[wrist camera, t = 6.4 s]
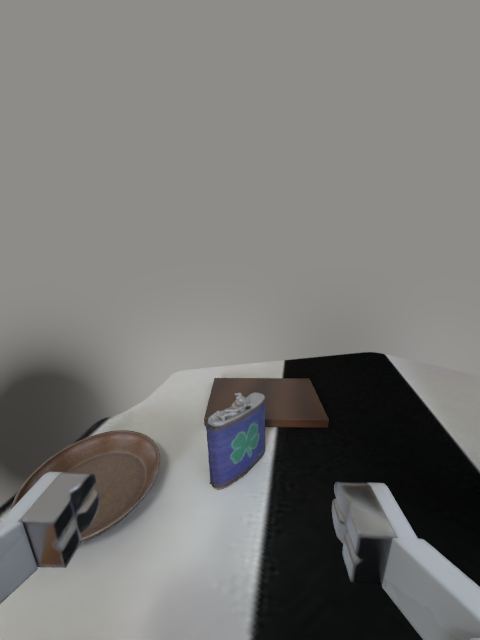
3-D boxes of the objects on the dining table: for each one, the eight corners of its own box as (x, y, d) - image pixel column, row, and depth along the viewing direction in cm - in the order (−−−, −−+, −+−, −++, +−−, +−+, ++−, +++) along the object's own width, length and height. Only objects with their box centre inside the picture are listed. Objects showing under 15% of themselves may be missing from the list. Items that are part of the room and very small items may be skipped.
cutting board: (309, 384, 52) (309, 378, 52) (328, 427, 40) (329, 419, 39) (214, 384, 53) (214, 378, 53) (204, 426, 40) (204, 418, 40)
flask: (256, 441, 37) (256, 377, 34) (271, 453, 35) (273, 386, 32) (205, 479, 31) (200, 406, 28) (219, 496, 29) (216, 419, 26)
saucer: (138, 429, 40) (135, 415, 39) (183, 495, 29) (181, 478, 28) (16, 486, 31) (10, 468, 30) (16, 614, 20) (7, 591, 19)
